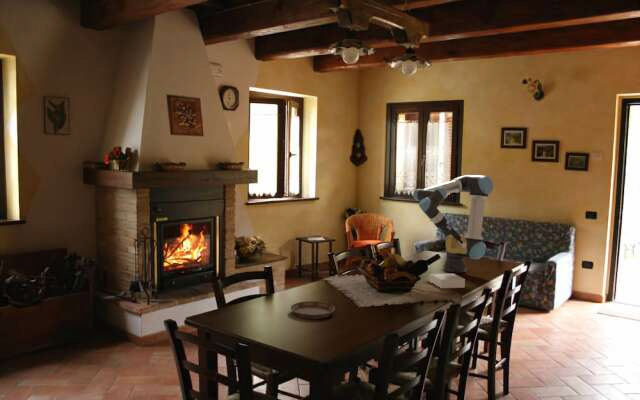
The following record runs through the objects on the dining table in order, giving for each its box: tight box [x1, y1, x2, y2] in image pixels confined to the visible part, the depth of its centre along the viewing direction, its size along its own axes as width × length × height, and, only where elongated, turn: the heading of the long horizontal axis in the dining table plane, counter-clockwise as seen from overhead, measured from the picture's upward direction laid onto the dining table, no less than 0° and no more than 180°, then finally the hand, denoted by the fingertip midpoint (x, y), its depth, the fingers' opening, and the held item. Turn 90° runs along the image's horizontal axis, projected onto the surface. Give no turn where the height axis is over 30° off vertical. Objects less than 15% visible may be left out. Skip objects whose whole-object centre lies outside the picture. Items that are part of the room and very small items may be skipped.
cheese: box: [445, 234, 467, 254], centre depth 326 cm, size 10×11×10 cm
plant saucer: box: [290, 300, 336, 320], centre depth 250 cm, size 21×21×3 cm
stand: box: [429, 273, 466, 289], centre depth 316 cm, size 15×15×5 cm
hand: (460, 245), depth 326 cm, fingers closed on cheese, 11 cm apart
